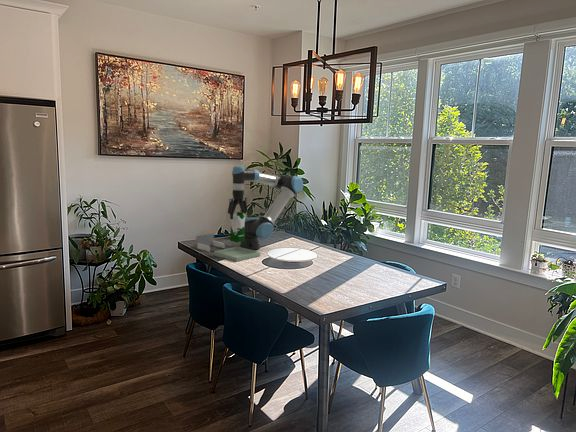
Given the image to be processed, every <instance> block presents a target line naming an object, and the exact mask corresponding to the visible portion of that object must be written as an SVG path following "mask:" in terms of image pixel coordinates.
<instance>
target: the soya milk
mask: <svg viewBox="0 0 576 432" xmlns="http://www.w3.org/2000/svg"><path fill="white" fill-rule="evenodd" d="M246 216H247V214H245V215H243V212H242V211H238V212H236V213H235V214H234V224H231V223H230V239H229V241H230V242H232V243H233V242H234V243H237V244H238V243H240V242H243V241H245V238H244V224H245V218H247V217H246Z"/></svg>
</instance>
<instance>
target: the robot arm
mask: <svg viewBox="0 0 576 432" xmlns="http://www.w3.org/2000/svg"><path fill="white" fill-rule="evenodd" d="M232 168H233V169H232V171H231V176H232V198H229V200H228V202H229V204H228V209H227V214H229V219H230V225H231V224H234V213H235V210H236V208H237V206H238V205H239V208H240V210H241V211H240V212H243V215H246V214H247V213H248V204H247V203H248V202H247V197H245V196H244V195H245V191H244V190H245V181H247V182H251V183H258V184H262V185H268V186H270V187H271V188H275V189H277V190H280V192H279V193H278V195H277V196H276V198H275V199H274V200H273V202H272V204H271V205H270V206H269V208H268V209H267V210H266V212H265V214H264V215H261V216H260V217H257V216H256V217H245V224H244V238H245V241H243V242H239V243H240V244H239V246H238V247H242V248H246V249H250V250H254V251H258V250H260V248H261V246H260V242H259V239H263V240H266V239H269V238H270V237H271V236H272V235H273V234H274V229H275V228H274V226H275V221H276V220H277V219H278V217H279V215H280V214H281V212H282V211H283V209H284V208H285V207H286V205H287V204H288V203H289V201H290V199H291V198H294V197H295V196H296V194H298V193H300V192H302V191H303V188H304V181H303V179H302V178H301V177H300V176H297V175H287V174H284V175H283V174H282V175H281V174H267V173H263V172H260V171H259V170H258V169H254V168H253V169H249V168H245V167H244V166H241V165H239V166H237V165H236V166H235V165H234V166H233V167H232ZM258 238H259V239H258Z"/></svg>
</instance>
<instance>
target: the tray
mask: <svg viewBox="0 0 576 432" xmlns="http://www.w3.org/2000/svg"><path fill="white" fill-rule="evenodd" d="M213 256H214V257H217V258H220V259H224V260H229V261H231V262H234V263H238V262H243V261H245V260H246V261H247V260H251V259H255V258H258V257H259V258H260V257H261V252H260V251H258V250H250V249H246V248H242V247H239V246H235V247H229V248H223V249H220V250H215V251H213Z"/></svg>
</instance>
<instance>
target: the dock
mask: <svg viewBox="0 0 576 432" xmlns="http://www.w3.org/2000/svg"><path fill="white" fill-rule="evenodd" d="M195 237H196V239H195V240H196V242H195V243H196V244H195V245H196V246H195V247H196V248H195V249H199V250H201V251H202V250H203V251H206V252H210V251H211V246H214V247H218V248H222V249H226V243H225V242H220V241H218V240H215V233H206V234H205V233H204V234H200V235H199V234H198V235H196V236H195Z"/></svg>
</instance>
